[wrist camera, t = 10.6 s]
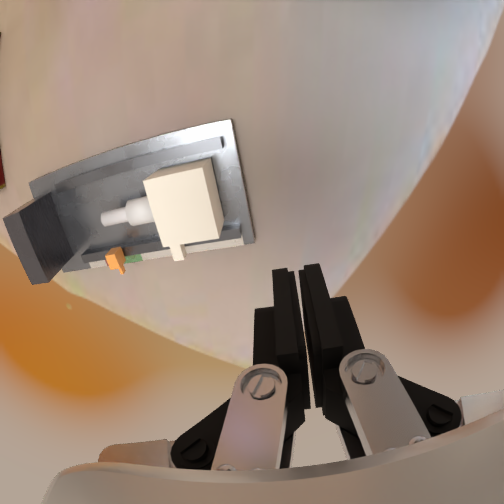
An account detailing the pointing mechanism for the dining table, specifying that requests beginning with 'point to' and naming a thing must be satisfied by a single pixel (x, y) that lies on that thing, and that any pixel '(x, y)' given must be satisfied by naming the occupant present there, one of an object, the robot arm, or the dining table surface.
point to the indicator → (116, 259)
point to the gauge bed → (122, 203)
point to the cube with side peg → (176, 206)
